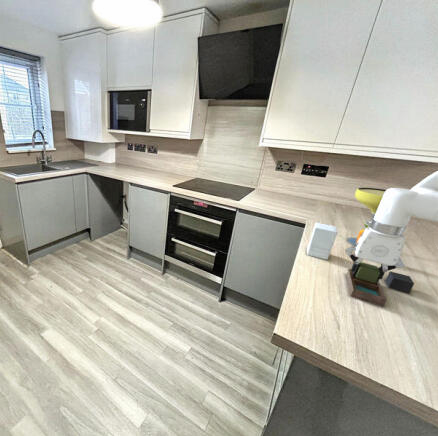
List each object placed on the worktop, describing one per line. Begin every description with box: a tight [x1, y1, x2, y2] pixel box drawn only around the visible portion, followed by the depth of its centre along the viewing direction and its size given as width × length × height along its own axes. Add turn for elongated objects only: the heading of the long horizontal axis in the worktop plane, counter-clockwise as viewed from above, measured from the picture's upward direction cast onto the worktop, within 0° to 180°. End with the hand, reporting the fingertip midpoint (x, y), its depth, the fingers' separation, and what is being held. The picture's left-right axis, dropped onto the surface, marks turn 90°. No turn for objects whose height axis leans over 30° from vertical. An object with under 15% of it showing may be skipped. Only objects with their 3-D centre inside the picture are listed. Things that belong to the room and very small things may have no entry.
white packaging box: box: [306, 222, 338, 260], centre depth 98 cm, size 7×7×13 cm
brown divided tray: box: [346, 268, 387, 307], centre depth 78 cm, size 8×15×3 cm, turn 146°
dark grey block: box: [384, 270, 415, 294], centre depth 80 cm, size 5×5×4 cm
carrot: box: [356, 222, 370, 244], centre depth 98 cm, size 5×5×15 cm
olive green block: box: [355, 261, 380, 283], centre depth 80 cm, size 5×5×4 cm
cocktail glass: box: [347, 187, 387, 246], centre depth 106 cm, size 18×18×25 cm
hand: (364, 275), depth 80 cm, fingers closed on olive green block, 5 cm apart
